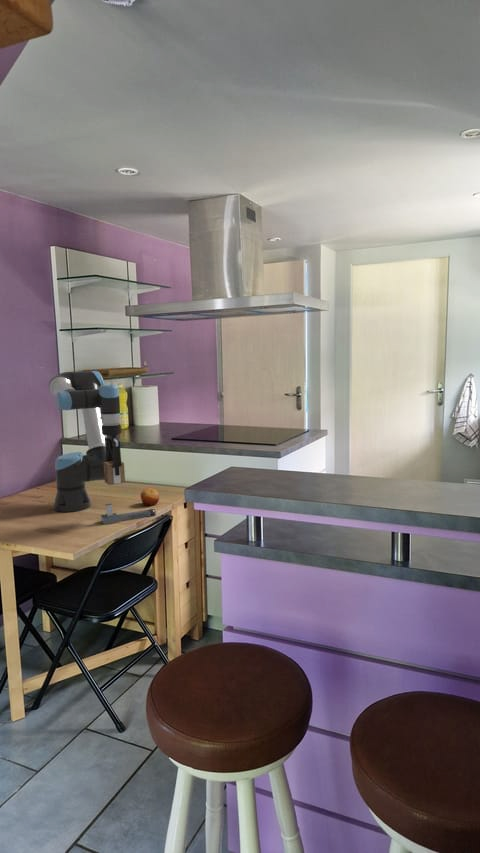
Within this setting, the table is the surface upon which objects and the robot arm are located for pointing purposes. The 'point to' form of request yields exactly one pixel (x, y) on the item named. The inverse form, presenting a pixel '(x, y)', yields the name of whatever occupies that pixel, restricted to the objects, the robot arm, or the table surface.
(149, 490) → the fruit
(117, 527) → the table surface
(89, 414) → the robot arm
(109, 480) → the socket collar
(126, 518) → the grey lever handle
